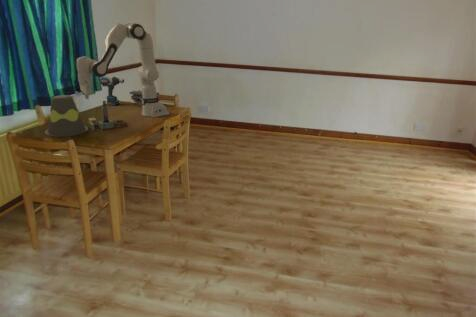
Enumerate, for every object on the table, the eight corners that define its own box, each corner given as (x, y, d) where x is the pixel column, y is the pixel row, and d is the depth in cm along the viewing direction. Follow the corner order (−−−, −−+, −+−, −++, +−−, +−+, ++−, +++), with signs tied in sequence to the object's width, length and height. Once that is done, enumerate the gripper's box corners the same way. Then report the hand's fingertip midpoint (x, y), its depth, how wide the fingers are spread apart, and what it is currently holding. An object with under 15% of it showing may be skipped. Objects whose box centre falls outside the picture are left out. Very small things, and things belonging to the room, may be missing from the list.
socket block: (110, 125, 271) (110, 119, 269) (113, 127, 265) (113, 122, 263) (89, 127, 263) (89, 122, 261) (92, 130, 257) (92, 124, 256)
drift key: (94, 123, 274) (93, 117, 272) (97, 125, 268) (96, 119, 267) (88, 123, 272) (88, 118, 270) (91, 126, 266) (90, 120, 264)
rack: (123, 123, 276) (123, 119, 275) (127, 125, 270) (126, 122, 269) (112, 124, 272) (112, 120, 271) (116, 127, 266) (115, 123, 265)
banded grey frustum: (40, 137, 239) (34, 101, 230) (48, 126, 264) (43, 92, 255) (86, 135, 246) (82, 100, 238) (89, 124, 271) (86, 91, 263)
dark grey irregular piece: (159, 104, 339) (159, 92, 335) (156, 106, 332) (155, 94, 328) (134, 102, 343) (133, 90, 339) (130, 104, 336) (129, 92, 332)
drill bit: (108, 126, 268) (105, 100, 261) (109, 127, 265) (107, 101, 259) (103, 126, 266) (101, 100, 259) (105, 127, 264) (102, 101, 257)
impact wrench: (123, 106, 326) (121, 78, 317) (100, 104, 330) (97, 76, 321) (128, 104, 333) (125, 76, 324) (105, 102, 337) (102, 75, 328)
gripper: (93, 81, 259) (95, 101, 264) (86, 77, 275) (88, 96, 280) (83, 82, 256) (85, 101, 261) (77, 78, 272) (79, 96, 277)
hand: (87, 98), depth 271 cm, fingers closed
